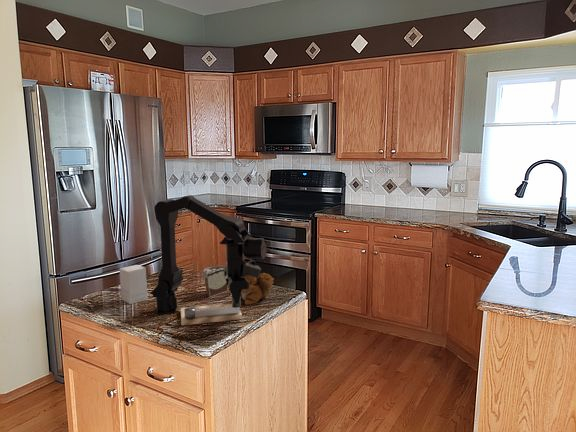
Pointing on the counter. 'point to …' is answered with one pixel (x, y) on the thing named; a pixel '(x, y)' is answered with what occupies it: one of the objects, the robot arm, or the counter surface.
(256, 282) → the stuffed squirrel
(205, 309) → the lever
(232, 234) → the robot arm
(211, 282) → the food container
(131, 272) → the supplement box
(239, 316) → the base board
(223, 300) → the counter surface
